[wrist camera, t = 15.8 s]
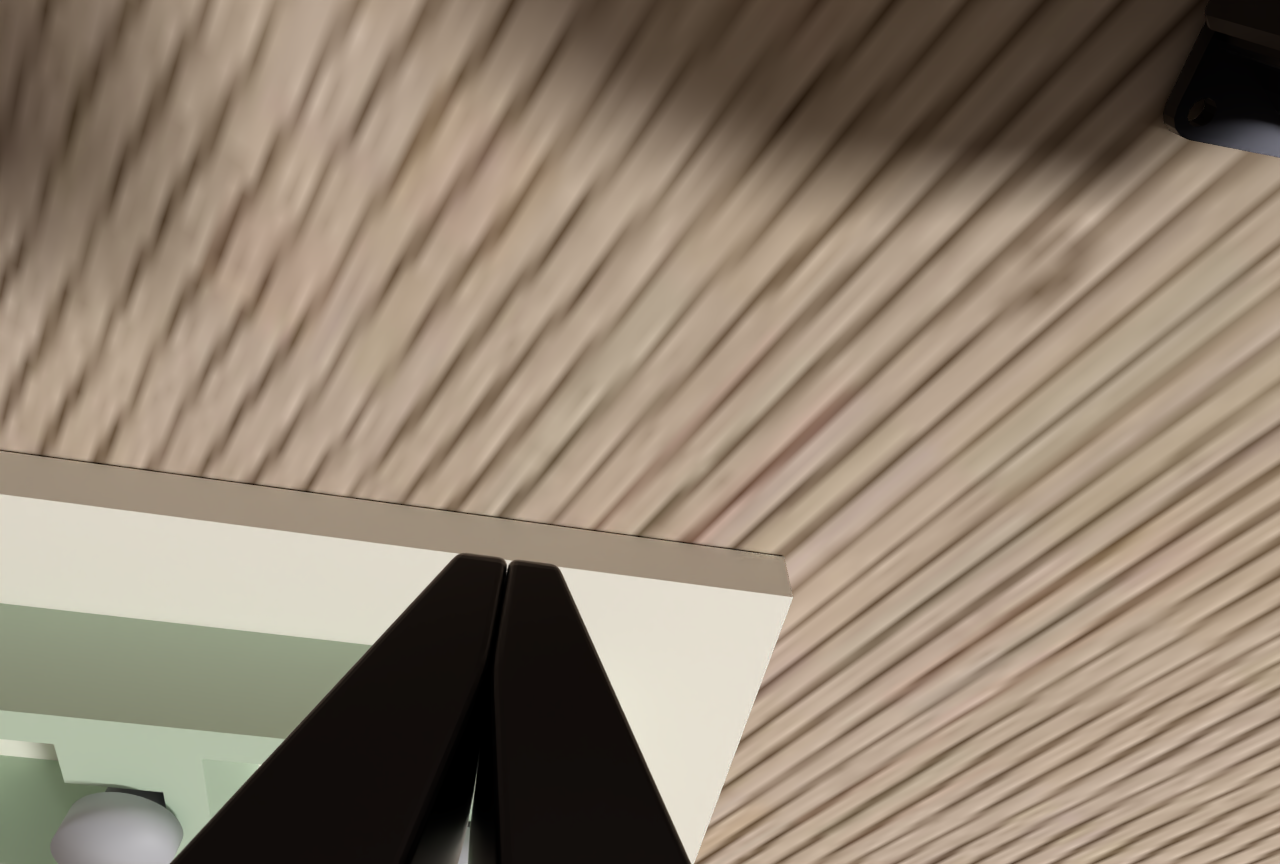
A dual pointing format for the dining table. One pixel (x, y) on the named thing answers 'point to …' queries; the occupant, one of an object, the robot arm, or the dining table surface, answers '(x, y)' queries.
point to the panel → (144, 713)
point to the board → (381, 607)
